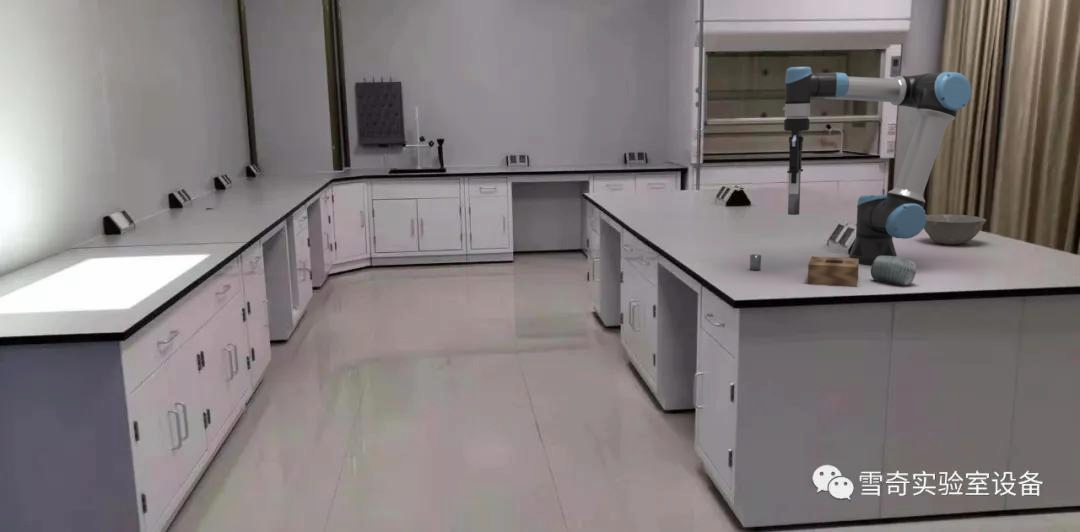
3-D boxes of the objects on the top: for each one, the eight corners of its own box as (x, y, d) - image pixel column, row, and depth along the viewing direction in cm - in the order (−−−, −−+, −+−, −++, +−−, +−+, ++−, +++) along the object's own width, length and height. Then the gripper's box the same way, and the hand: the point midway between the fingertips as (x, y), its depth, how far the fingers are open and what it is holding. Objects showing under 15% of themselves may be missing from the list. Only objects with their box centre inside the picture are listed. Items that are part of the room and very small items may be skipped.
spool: (858, 270, 252) (877, 242, 250) (876, 280, 257) (894, 253, 255) (891, 288, 240) (911, 260, 238) (909, 299, 245) (928, 271, 243)
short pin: (761, 269, 272) (761, 254, 271) (759, 271, 269) (760, 256, 268) (750, 268, 274) (751, 254, 273) (749, 270, 270) (749, 255, 270)
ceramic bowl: (995, 248, 301) (998, 221, 299) (932, 249, 301) (934, 222, 299) (965, 238, 323) (967, 213, 321) (907, 239, 323) (908, 214, 321)
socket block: (857, 277, 257) (858, 258, 255) (856, 286, 244) (857, 267, 243) (811, 274, 262) (812, 256, 261) (807, 283, 249) (808, 264, 248)
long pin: (799, 213, 260) (801, 169, 258) (798, 214, 257) (800, 170, 254) (788, 213, 262) (789, 169, 259) (787, 214, 259) (788, 170, 256)
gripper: (787, 117, 262) (785, 190, 267) (780, 118, 248) (778, 195, 252) (812, 116, 259) (809, 190, 264) (806, 118, 245) (803, 196, 249)
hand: (794, 192), depth 258 cm, fingers closed on long pin, 3 cm apart
